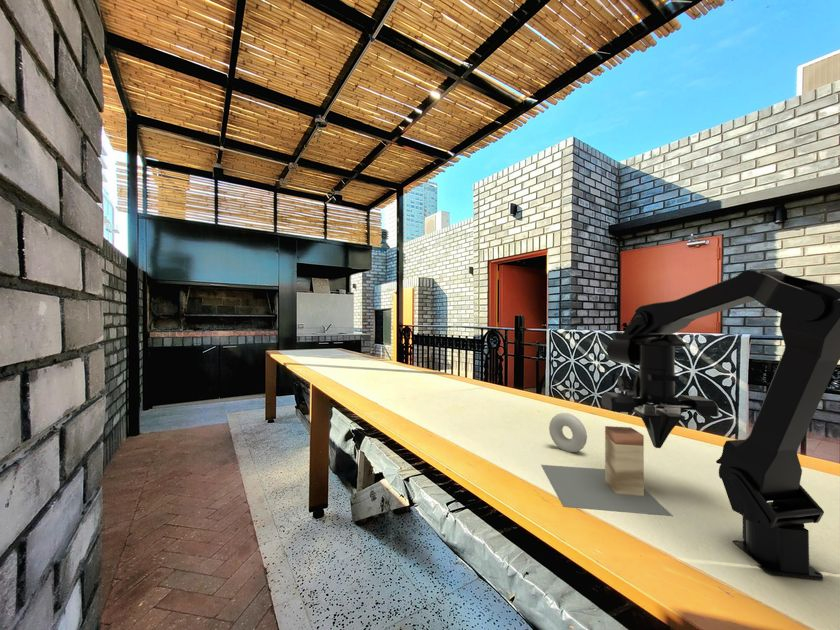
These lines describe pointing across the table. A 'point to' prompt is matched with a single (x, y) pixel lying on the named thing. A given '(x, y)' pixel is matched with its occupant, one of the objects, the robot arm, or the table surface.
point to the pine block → (624, 460)
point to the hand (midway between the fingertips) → (656, 447)
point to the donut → (576, 427)
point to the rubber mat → (597, 492)
